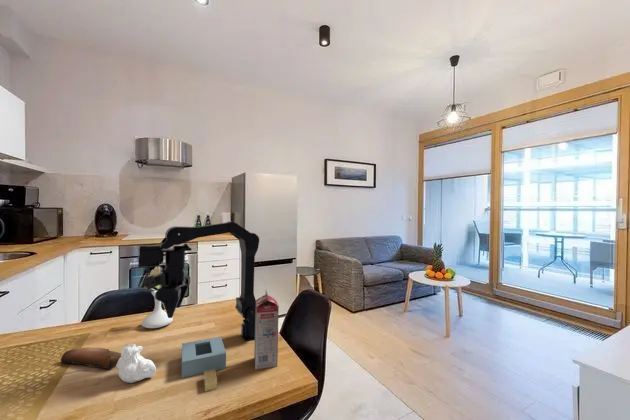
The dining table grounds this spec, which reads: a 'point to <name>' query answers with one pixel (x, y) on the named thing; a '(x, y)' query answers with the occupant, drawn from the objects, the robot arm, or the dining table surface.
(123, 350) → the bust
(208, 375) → the tan wooden post
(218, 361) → the blue-grey hollow frame
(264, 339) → the juice carton
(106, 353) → the sunglasses case
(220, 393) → the dining table surface
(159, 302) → the flower in vase
